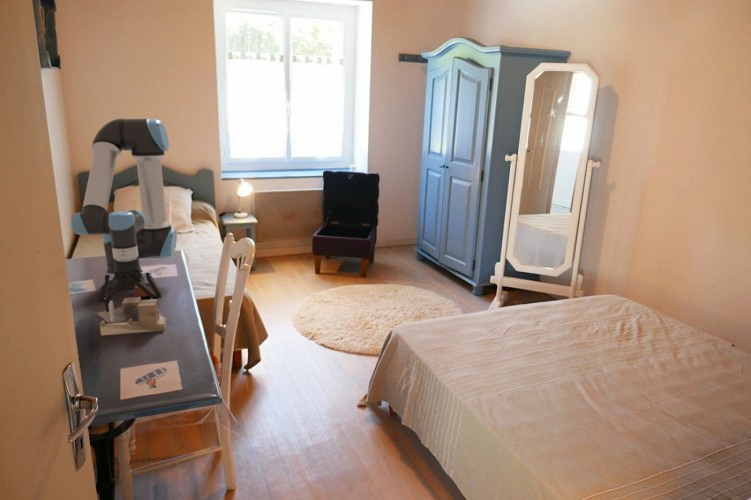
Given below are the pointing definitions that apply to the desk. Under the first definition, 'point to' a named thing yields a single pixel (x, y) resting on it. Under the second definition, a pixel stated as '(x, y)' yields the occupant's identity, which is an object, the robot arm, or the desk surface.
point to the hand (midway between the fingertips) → (133, 318)
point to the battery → (141, 293)
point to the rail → (145, 318)
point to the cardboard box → (130, 308)
